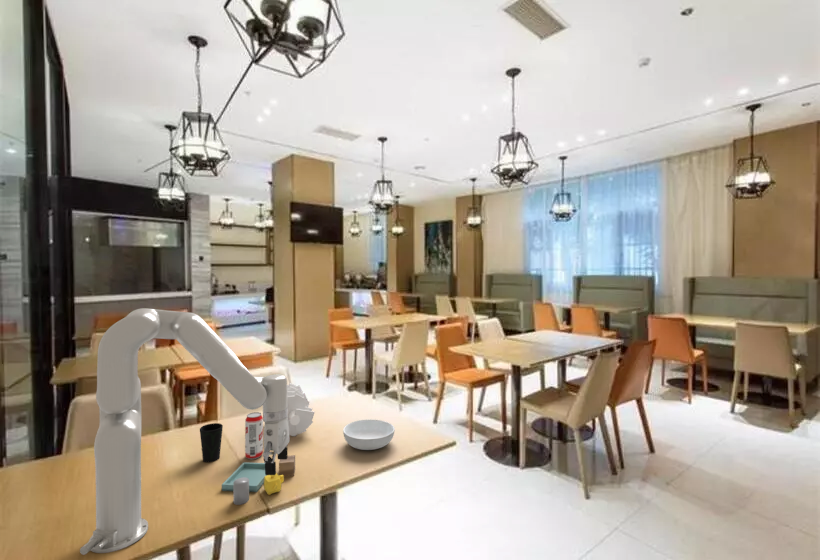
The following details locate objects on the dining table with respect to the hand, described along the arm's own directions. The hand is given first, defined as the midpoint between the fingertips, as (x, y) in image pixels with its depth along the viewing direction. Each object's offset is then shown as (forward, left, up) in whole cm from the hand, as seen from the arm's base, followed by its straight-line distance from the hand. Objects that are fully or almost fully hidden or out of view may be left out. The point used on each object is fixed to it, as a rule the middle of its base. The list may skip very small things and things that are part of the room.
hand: (276, 466), depth 125 cm
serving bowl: (+35, -24, -8) cm, 43 cm away
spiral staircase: (+49, +14, -8) cm, 51 cm away
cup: (+19, +33, -8) cm, 38 cm away
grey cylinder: (-6, +9, -8) cm, 13 cm away
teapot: (0, +1, -8) cm, 8 cm away
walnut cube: (+11, +1, -8) cm, 13 cm away
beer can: (+22, +18, -8) cm, 29 cm away
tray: (+6, +12, -8) cm, 15 cm away
